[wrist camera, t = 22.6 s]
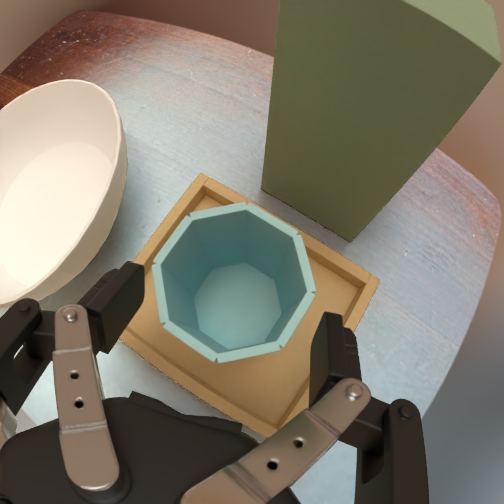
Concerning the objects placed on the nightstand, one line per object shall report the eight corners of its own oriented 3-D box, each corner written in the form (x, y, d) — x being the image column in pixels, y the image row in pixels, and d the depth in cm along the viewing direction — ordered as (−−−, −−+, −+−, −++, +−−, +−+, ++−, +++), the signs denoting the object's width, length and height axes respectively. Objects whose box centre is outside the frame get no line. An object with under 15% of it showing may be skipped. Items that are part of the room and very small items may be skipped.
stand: (386, 170, 25) (493, 7, 8) (350, 242, 23) (502, 63, 6) (307, 125, 26) (354, -62, 9) (260, 189, 24) (283, -42, 7)
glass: (301, 292, 21) (339, 255, 13) (251, 370, 20) (256, 389, 11) (224, 244, 22) (212, 180, 13) (173, 318, 20) (125, 299, 12)
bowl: (91, 102, 27) (66, 54, 20) (197, 212, 23) (179, 159, 17) (-28, 218, 23) (-70, 190, 16) (37, 364, 20) (-23, 364, 13)
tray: (368, 286, 22) (380, 279, 20) (278, 436, 19) (282, 445, 17) (204, 187, 24) (200, 171, 22) (108, 321, 21) (94, 318, 19)
